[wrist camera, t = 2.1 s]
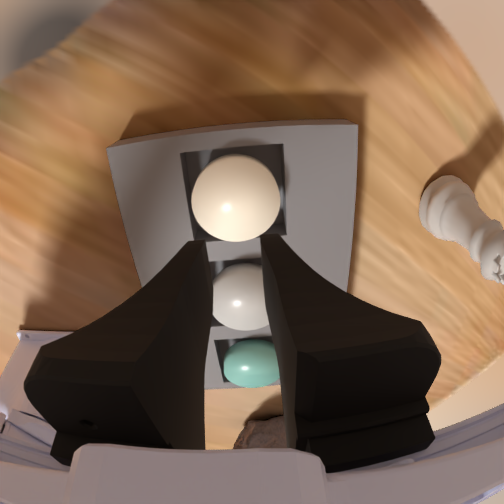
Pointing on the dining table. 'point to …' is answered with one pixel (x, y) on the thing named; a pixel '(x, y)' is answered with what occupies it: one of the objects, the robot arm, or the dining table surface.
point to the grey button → (240, 297)
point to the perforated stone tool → (262, 434)
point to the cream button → (235, 198)
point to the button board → (286, 225)
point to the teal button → (251, 363)
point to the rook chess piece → (463, 223)
